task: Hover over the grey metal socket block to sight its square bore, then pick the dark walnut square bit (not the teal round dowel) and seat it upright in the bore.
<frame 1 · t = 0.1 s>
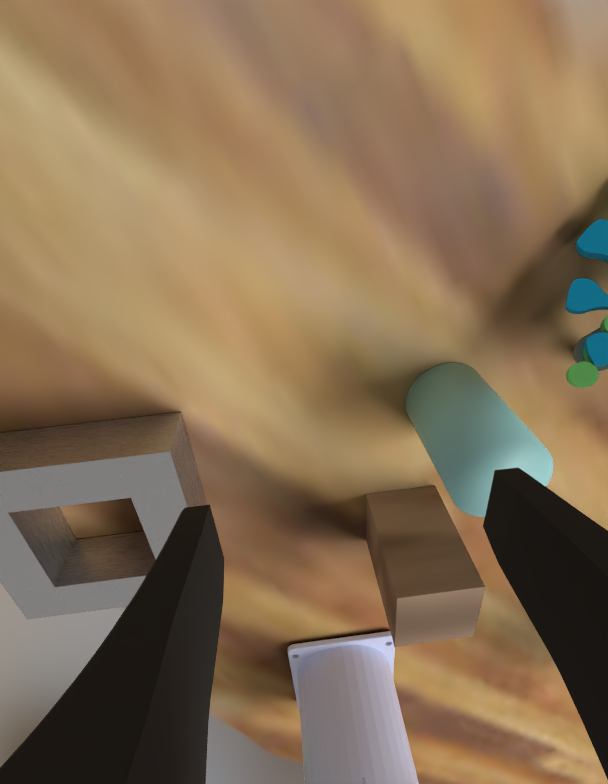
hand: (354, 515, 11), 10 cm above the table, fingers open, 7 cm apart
round dowel: (444, 398, 22), on the table
square bit: (399, 513, 26), on the table
socket block: (108, 499, 23), on the table
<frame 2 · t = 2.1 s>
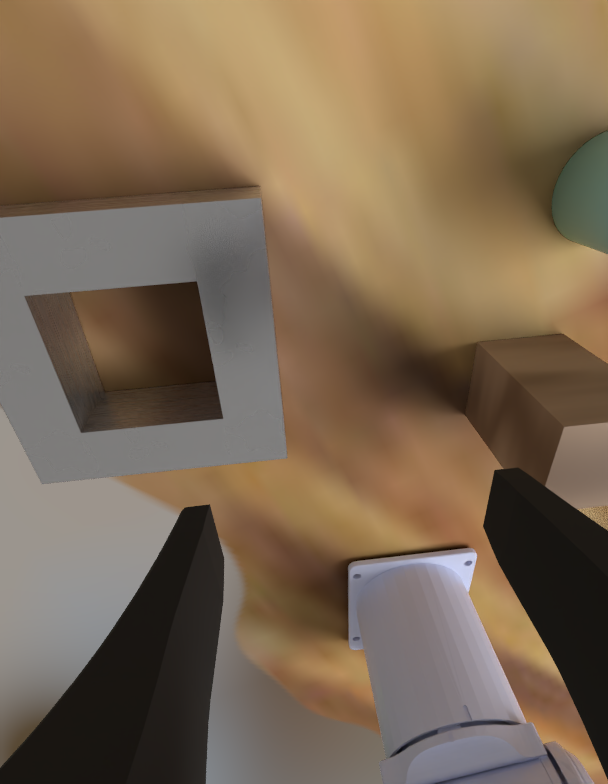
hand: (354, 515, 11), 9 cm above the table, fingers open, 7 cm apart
round dowel: (603, 189, 16), on the table
square bit: (511, 376, 21), on the table
socket block: (151, 329, 18), on the table
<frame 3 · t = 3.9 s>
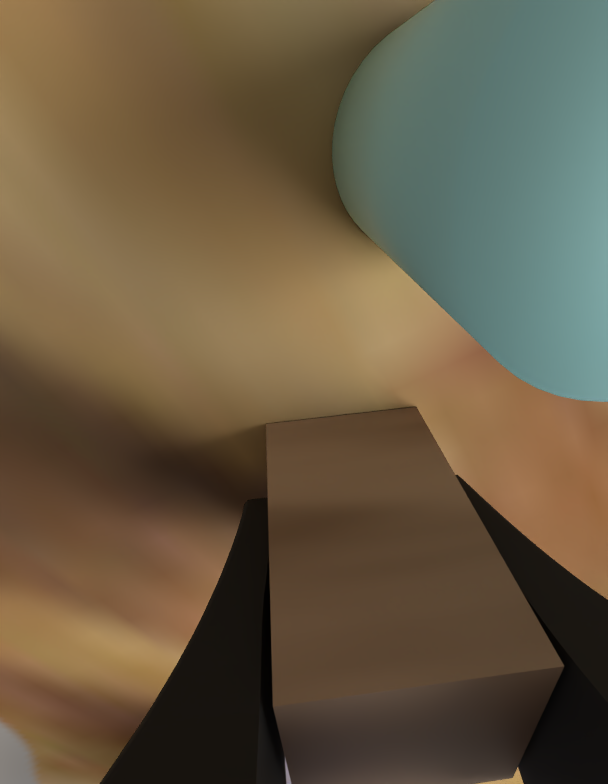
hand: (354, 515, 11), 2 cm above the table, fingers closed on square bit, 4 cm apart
round dowel: (434, 147, 8), on the table
square bit: (343, 472, 12), on the table, touching gripper
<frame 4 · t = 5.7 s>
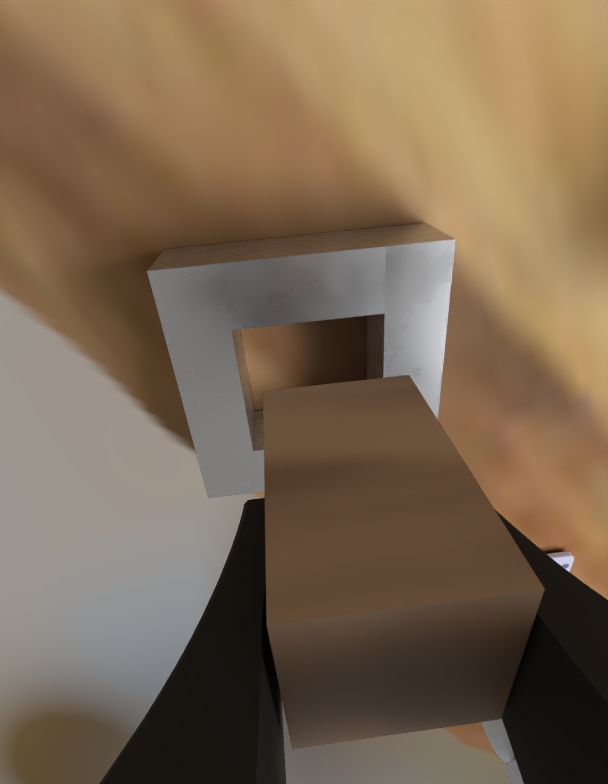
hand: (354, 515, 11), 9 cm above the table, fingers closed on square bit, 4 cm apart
square bit: (339, 441, 13), point 7 cm above the table, touching gripper
socket block: (306, 353, 19), on the table
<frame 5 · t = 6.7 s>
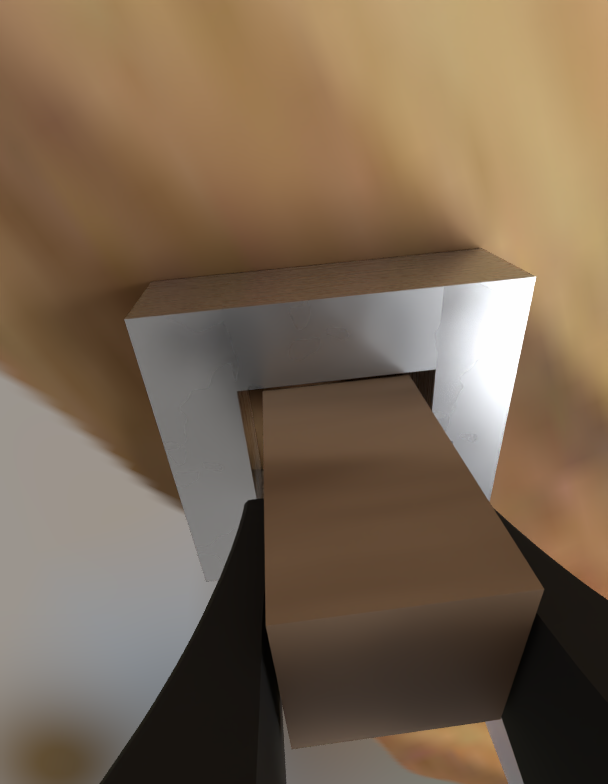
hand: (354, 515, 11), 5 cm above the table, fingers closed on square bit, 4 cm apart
square bit: (338, 441, 13), point 3 cm above the table, touching gripper
socket block: (326, 404, 16), on the table
when the fingers open (4 cm above the table, at t = 7.5 s): square bit drops 1 cm, resting in socket block.
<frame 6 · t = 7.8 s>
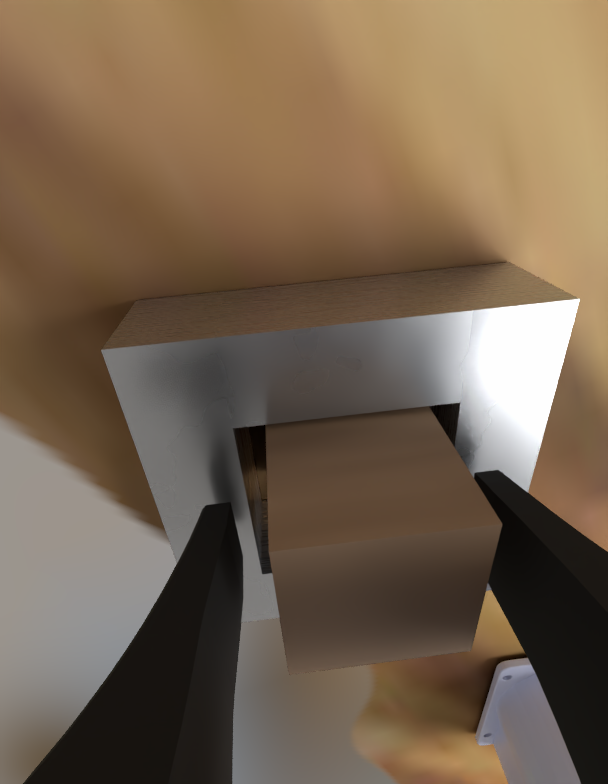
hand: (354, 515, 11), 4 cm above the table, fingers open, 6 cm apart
square bit: (333, 417, 14), resting in socket block
socket block: (333, 431, 14), on the table
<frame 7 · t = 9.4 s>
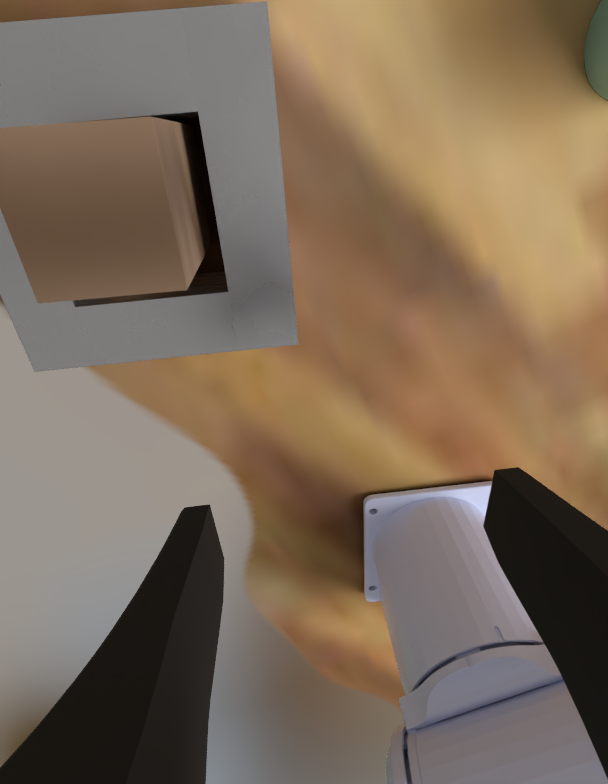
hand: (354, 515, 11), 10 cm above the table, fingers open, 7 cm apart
square bit: (149, 191, 16), resting in socket block
socket block: (151, 206, 16), on the table
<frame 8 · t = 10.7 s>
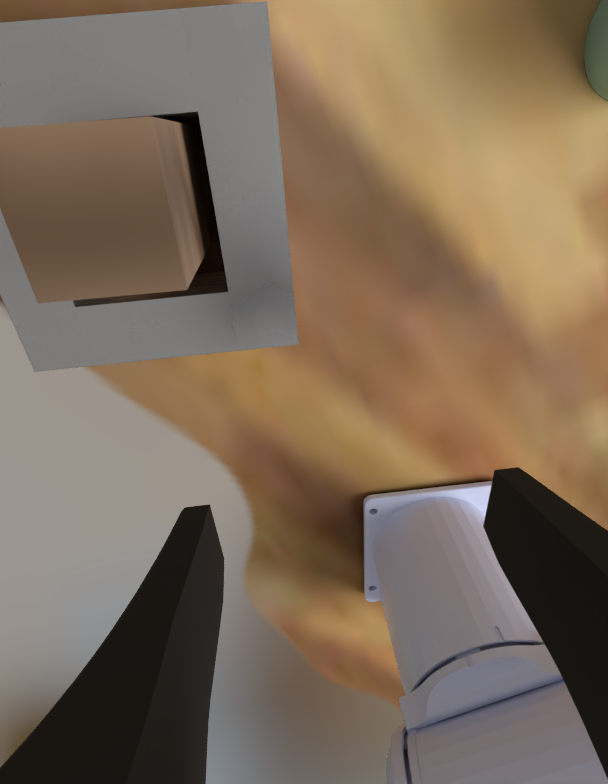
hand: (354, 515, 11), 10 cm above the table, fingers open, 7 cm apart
square bit: (149, 191, 16), resting in socket block
socket block: (151, 206, 16), on the table
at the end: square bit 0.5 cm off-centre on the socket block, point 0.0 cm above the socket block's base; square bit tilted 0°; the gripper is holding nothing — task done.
